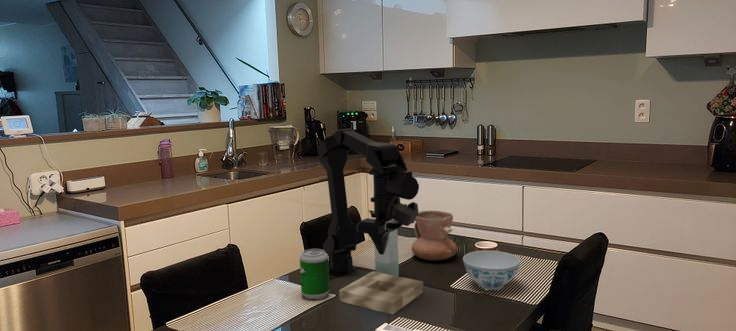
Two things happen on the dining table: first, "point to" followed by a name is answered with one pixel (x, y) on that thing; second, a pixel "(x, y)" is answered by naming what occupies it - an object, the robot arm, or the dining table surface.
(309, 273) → the soda can
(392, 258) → the square peg
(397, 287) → the socket plate
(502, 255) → the chinaware
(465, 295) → the dining table surface
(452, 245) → the ceramic jug
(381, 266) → the round peg
